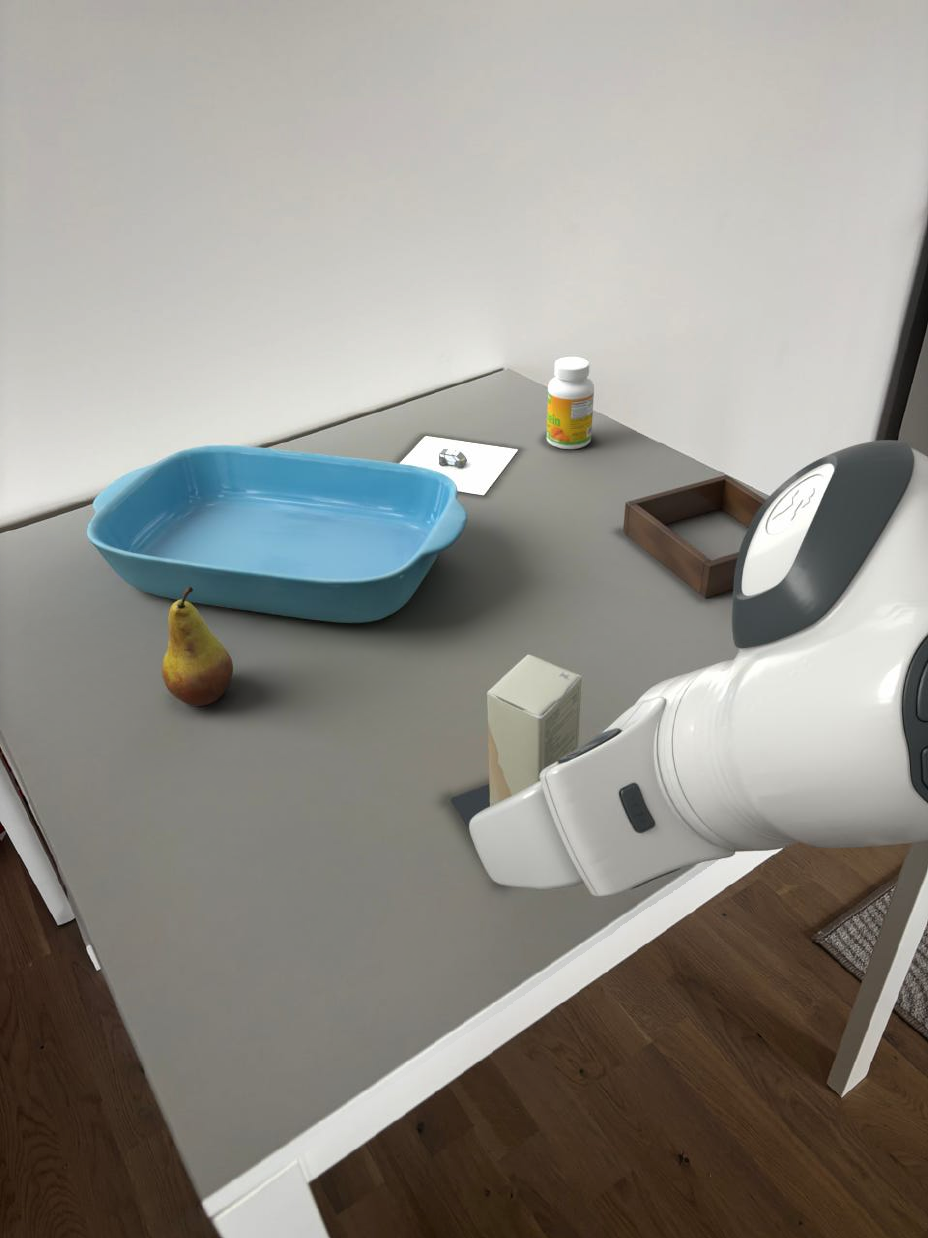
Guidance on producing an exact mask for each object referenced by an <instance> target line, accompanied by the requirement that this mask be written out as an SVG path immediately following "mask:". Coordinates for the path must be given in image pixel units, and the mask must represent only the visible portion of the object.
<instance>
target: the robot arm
mask: <svg viewBox="0 0 928 1238" xmlns="http://www.w3.org/2000/svg"><path fill="white" fill-rule="evenodd" d="M765 500H766V501H765V502H764V503H763V505H762V506H761V507H760V509H759V510H758V511H757V513H756V515H755V516H754V518H753V520H752V522H751V524H750V526H749V527H747V530H746V532H745V534H744V537H743V538H742V542H741V545H740V548H739V551H738V552H739V554H738V558H737V562H736V568H735V574H734V589H732V609H731V632H732V639H733V640H732V641H733V643H734V647H736V648H737V649H738V653H737V654H736V656H735V658H734V659H728V660H724V661H721V662H717V663H714V664H712V665H708V666H705V667H702V668H699V669H696V670H692V671H690V672H687V673H683V674H680V675H678V676H674V677H670V678H668V679H665V680H662V681H660V682H659V683H656V684H655V685H653V686H651V687H650V688H649V689H648V690H647V691H646V692H644V693H643V694H642V695H641V696H640V698H639V699H638V700H636V702H635V703H634V705H632V706H631V707H629V708H628V709H627V710H625V711H624V712H623V713H622V714H621V715H619V716H618V718H616V719H615V720H614V722H612V723H611V724H610V725H609V726H608V727H607V728H606V729H605V730H603V731H602V732H601V733H599V734H597V735H595V736H594V737H592V738H591V739H589V740H588V741H586V742H584V743H583V744H582V745H580V746H578V748H577V749H575V750H574V751H572V752H570V753H569V754H567V755H565V756H563V757H561V758H560V759H558V762H556V763H554V764H552V765H550V766H548V767H546V768H545V769H543V770H542V772H541V773H540V776H539V778H540V781H539V782H537V783H535V784H533V785H532V786H530V787H528V788H526V789H524V790H523V791H521V792H519V793H517V794H515V795H513V796H511V797H509V798H506V799H504V800H502V801H500V802H498V803H496V804H494V805H492V806H490V807H488V808H486V809H484V810H482V811H481V812H479V813H477V814H476V815H475V816H474V817H473V818H472V819H471V820H470V823H469V828H468V831H469V834H470V837H471V839H472V842H473V845H474V847H475V850H476V853H477V855H478V856H479V859H480V861H481V864H482V865H483V867H484V869H485V871H486V873H487V874H488V876H489V877H490V879H491V880H492V881H493V882H494V883H496V884H498V885H500V886H504V887H509V888H516V889H517V888H518V889H529V890H531V889H532V890H558V889H559V890H560V889H567V888H570V887H575V886H579V885H582V884H584V885H585V886H586V888H587V890H588V891H589V893H590V895H591V896H593V897H596V898H610V897H615V896H618V895H620V894H623V893H625V892H627V891H630V890H634V889H637V888H638V887H641V886H644V885H645V884H647V883H650V882H652V881H655V880H658V879H659V878H662V877H664V876H667V875H669V874H672V873H675V872H677V871H679V870H681V869H683V868H685V867H689V866H692V865H696V864H700V863H705V862H709V861H716V860H721V859H728V858H731V857H734V856H735V854H736V853H737V852H738V853H740V852H741V853H743V852H767V851H768V852H769V851H775V850H781V849H784V848H788V847H791V846H793V845H795V844H798V843H801V844H802V845H803V844H804V845H807V846H811V847H815V848H822V849H854V848H855V849H856V848H871V847H882V846H883V847H884V846H892V845H893V846H895V845H904V844H911V843H918V842H919V843H920V842H925V841H926V842H927V841H928V456H927V455H925V454H923V453H922V452H920V451H919V450H917V449H915V448H913V447H911V446H910V445H909V444H908V443H907V442H905V441H902V440H893V439H887V440H886V439H885V440H883V439H882V440H872V441H867V442H861V443H858V444H854V445H850V446H848V447H845V448H842V449H840V450H836V451H834V452H832V453H829V454H827V455H825V456H823V457H821V458H819V459H816V460H815V461H813V462H811V463H809V464H807V465H806V466H804V467H803V468H801V469H800V470H798V471H797V472H796V473H795V474H793V475H792V476H790V477H789V478H787V480H785V481H784V482H783V483H782V484H781V485H780V486H778V487H777V488H776V489H775V490H774V491H773V492H772V493H771V494H770V495H769V496H768V497H767V499H765Z"/></svg>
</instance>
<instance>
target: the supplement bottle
mask: <svg viewBox="0 0 928 1238" xmlns="http://www.w3.org/2000/svg"><path fill="white" fill-rule="evenodd" d="M589 375H590V362H589V360H587V359H586V358H582V357H580V356H579V357H578V356H565V357H560V358H558V359H556V360H555V361H554V377H553V378H552V379H551V380H550V381H549V383H548V385H547V409H546V412H547V413H546V441H547V443H549V444H550V445H551V446H553V447H555V448H558V449H563V450H576V449H582V448H584V447H586V446H587V445H588V444H590V443H591V440H592V435H593V434H592V433H593V415H594V400H595V399H594V397H595V385H594V383H593V381H592V380H591V379H590V378H589Z"/></svg>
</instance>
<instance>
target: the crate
mask: <svg viewBox="0 0 928 1238" xmlns="http://www.w3.org/2000/svg"><path fill="white" fill-rule="evenodd" d="M766 500H767V499H765V498H764V497H762V496H761V495H759V494H757V493H756V492H755V491H753V490H752V489H750V488H749V487H747V486H745V485H744V484H742V483H740V482H739V481H738V480H736V479H734V478H732V477H731V476H730V475H728V474H724V475H719V476H717V477H713V478H709V479H705V480H702V481H697V482H694V483H691V484H687V485H683V486H681V487H680V486H679V487H676V488H672V489H669V490H665V491H662V492H658V493H654V494H650V495H647V496H642V497H639V498H636V499H633V500H632V499H631V500H629V501H625V505H624V516H623V527H622V528H623V529H622V533H624V534H625V535H626V536H627V537H629V538H630V539H631V540H632V541H634V542H635V543H636V544H637V545H639V547H641V548H642V549H643V550H645V551H646V552H647V553H648V554H650V555H651V556H652V557H653V558H654V559H656V560H657V561H658V562H660V564H662V565H663V566H664V567H666V568H667V569H668V570H669V571H671V573H672V574H675V575H676V576H677V578H679V579H681V580H682V581H683V582H684V583H685V584H687V585H688V586H689V587H690V588H692V589H693V590H695V591H696V592H697V593H698V594H699V595H701V596H702V597H703V598H704V599H707V598H710V597H714V596H717V595H720V594H722V593H726V592H729V591H733V589H734V574H735V568H736V562H737V558H738V554H739V551H737V552H734V553H731V554H728V555H724V556H722V557H718V558H714V559H710V558H709V557H708V556H706V555H705V554H703V553H702V552H701V551H699V550H698V549H697V548H696V547H694V546H693V545H692V544H690V543H689V542H688V541H687V540H685V539H683V538H682V536H679V534H677V533H676V532H674V531H673V530H672V529H670V528H669V527H668V526H667V525H669V524H671V523H675V522H678V521H681V520H682V521H683V520H685V519H689V518H692V517H695V516H700V515H702V514H706V513H710V512H714V511H717V510H722V511H724V512H725V513H726V514H728V515H729V516H731V517H732V518H733V519H735V520H736V521H738V522H740V523H741V524H742V525H744V526H746V528H749V526H750V524H751V522H752V520H753V518H754V516H755V515H756V513H757V511H758V510H759V509H760V507H761V506H762V505H763V503H764V502H765V501H766Z"/></svg>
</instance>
